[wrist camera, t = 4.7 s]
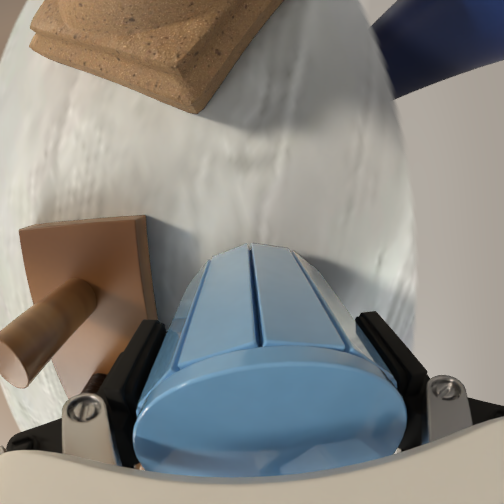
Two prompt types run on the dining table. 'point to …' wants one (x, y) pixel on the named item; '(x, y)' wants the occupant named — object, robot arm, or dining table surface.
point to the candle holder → (152, 42)
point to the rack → (79, 301)
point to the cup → (265, 376)
